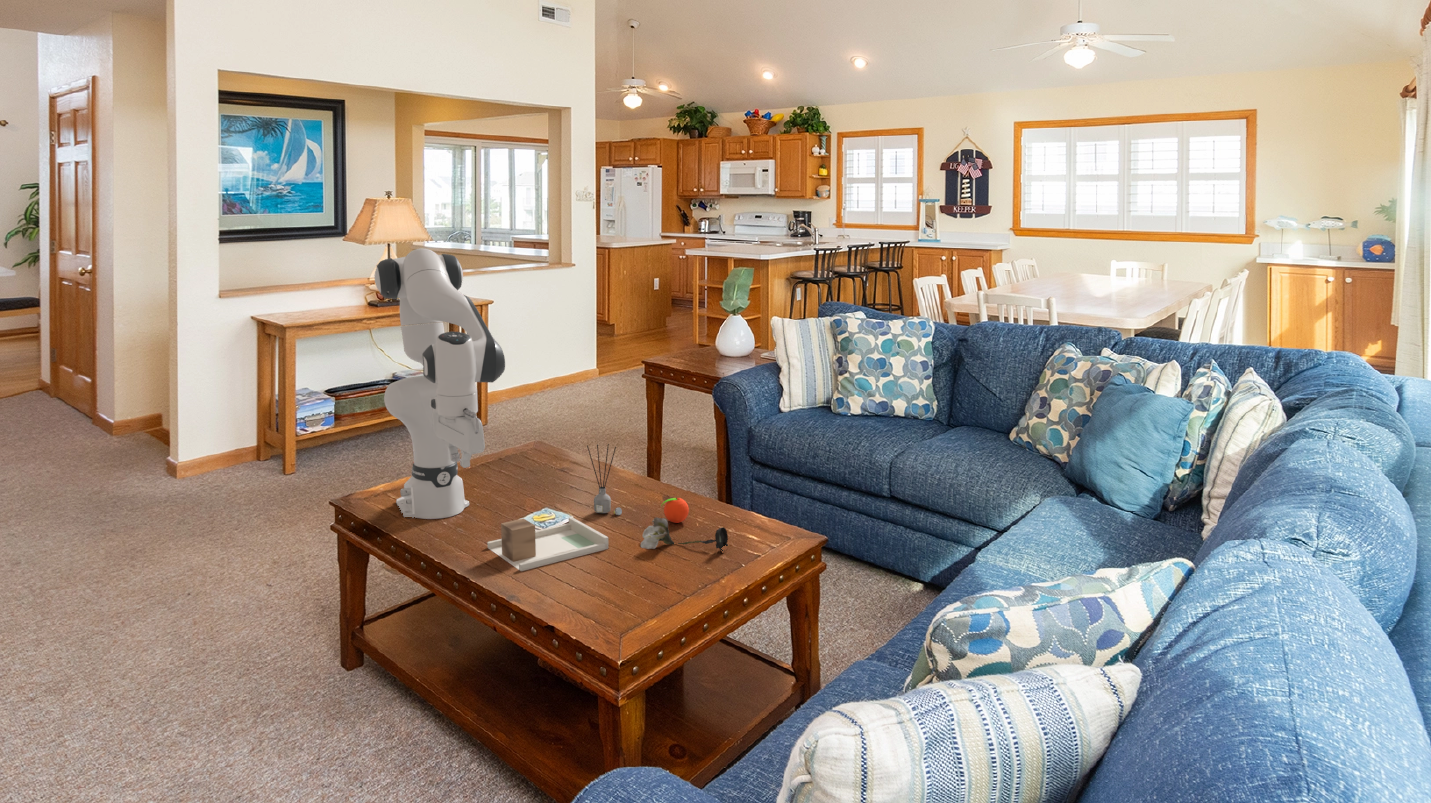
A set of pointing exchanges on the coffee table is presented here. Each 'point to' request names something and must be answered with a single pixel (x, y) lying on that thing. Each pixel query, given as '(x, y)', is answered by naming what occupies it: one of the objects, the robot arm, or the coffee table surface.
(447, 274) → the robot arm
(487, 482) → the coffee table surface
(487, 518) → the coffee table surface
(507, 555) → the walnut block
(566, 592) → the coffee table surface
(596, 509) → the reed diffuser
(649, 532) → the artificial flower
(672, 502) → the clementine
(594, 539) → the white rimmed tray
